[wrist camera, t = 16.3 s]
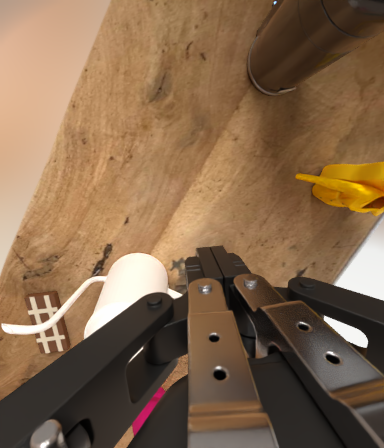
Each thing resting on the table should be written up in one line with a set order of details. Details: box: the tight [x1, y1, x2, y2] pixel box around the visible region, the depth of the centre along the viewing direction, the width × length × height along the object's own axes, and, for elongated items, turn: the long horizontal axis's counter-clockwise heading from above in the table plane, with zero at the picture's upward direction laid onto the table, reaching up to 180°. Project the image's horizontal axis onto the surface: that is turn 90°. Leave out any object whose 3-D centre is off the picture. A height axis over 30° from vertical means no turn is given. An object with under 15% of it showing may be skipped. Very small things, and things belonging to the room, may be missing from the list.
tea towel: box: [25, 291, 70, 353], centre depth 42 cm, size 12×5×1 cm, turn 5°
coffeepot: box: [2, 253, 182, 362], centre depth 33 cm, size 11×25×19 cm, turn 74°
